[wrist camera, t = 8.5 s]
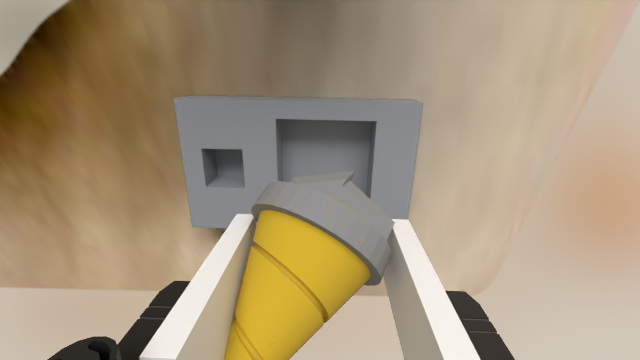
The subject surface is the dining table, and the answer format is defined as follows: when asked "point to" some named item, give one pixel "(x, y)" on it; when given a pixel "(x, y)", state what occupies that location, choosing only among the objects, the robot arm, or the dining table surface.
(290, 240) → the yellow grooved cone
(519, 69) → the dining table surface
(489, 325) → the robot arm
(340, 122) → the bit holder block
